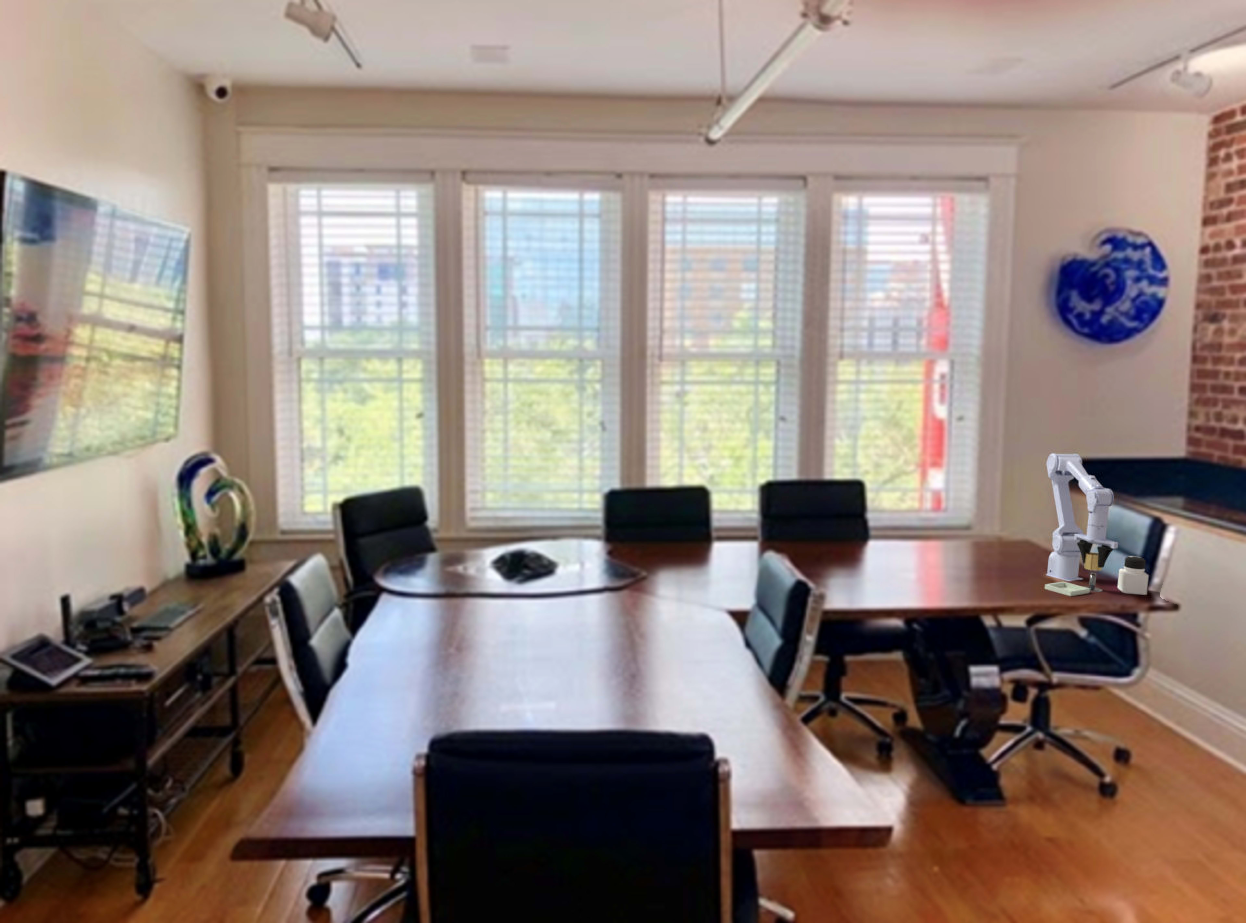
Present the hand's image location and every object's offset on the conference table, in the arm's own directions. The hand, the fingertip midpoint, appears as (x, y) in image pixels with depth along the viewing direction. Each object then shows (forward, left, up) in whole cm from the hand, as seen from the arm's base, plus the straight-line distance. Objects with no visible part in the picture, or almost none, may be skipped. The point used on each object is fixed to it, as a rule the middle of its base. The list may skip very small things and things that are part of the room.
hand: (1093, 565), depth 320 cm
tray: (-2, -10, -9) cm, 13 cm away
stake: (0, 0, -9) cm, 9 cm away
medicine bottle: (+7, +11, -9) cm, 16 cm away
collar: (0, 0, -1) cm, 1 cm away
